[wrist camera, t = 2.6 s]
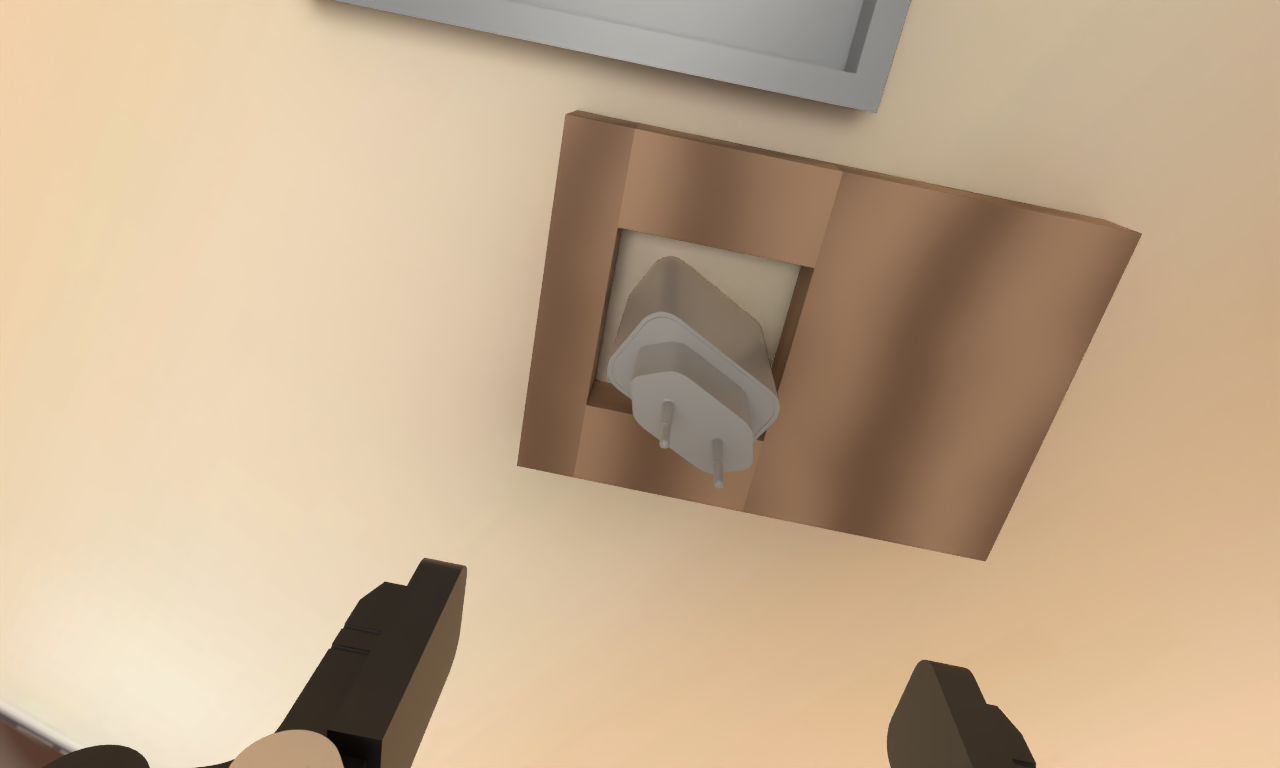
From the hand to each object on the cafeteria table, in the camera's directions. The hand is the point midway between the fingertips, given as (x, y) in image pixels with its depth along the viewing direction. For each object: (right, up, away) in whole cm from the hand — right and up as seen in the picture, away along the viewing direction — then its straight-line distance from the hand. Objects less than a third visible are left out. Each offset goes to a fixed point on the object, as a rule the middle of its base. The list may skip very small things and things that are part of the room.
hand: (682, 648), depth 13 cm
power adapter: (+1, +7, +17) cm, 19 cm away
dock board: (+5, +6, +17) cm, 19 cm away
